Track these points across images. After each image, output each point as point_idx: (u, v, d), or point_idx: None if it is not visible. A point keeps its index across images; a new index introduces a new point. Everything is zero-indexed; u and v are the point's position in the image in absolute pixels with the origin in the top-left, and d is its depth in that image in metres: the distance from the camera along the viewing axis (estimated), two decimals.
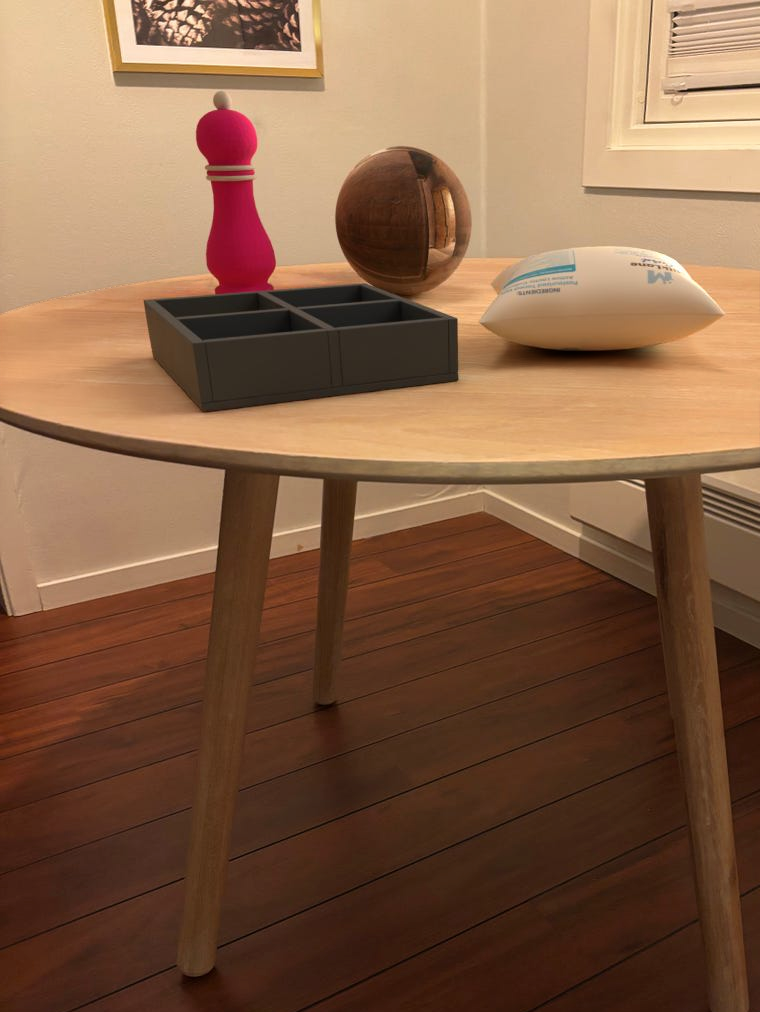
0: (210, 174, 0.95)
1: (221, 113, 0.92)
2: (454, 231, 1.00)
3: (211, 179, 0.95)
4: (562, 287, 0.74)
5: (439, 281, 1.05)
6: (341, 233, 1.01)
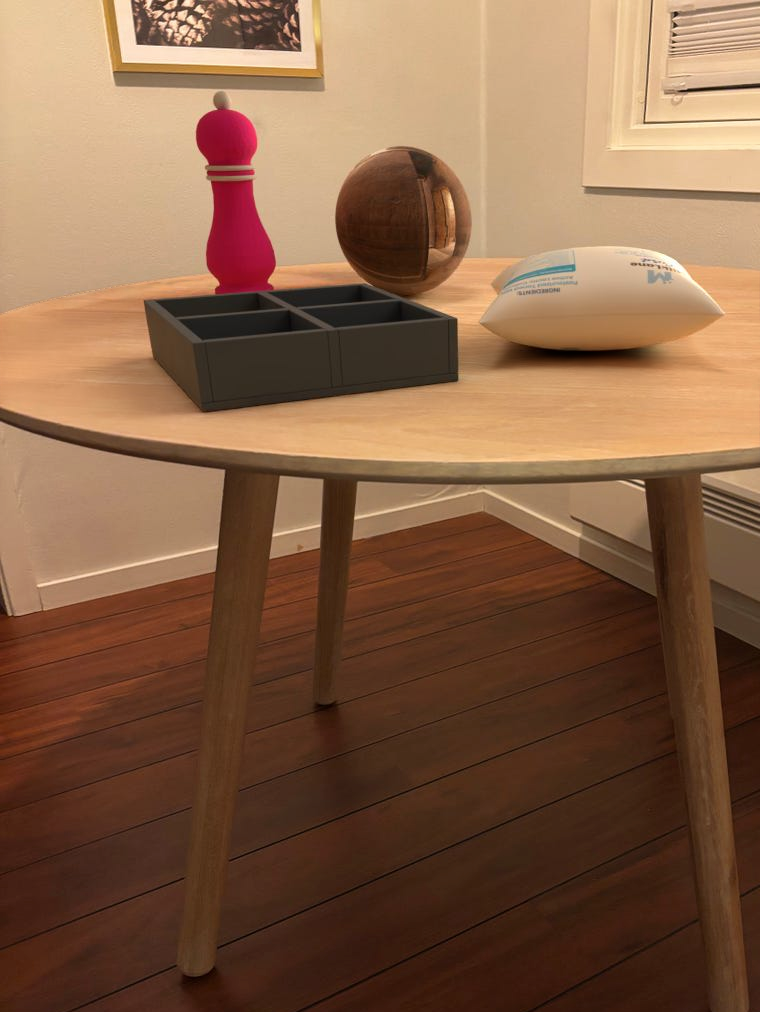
0: (210, 174, 0.95)
1: (221, 113, 0.92)
2: (454, 231, 1.00)
3: (211, 179, 0.95)
4: (562, 287, 0.74)
5: (439, 281, 1.05)
6: (341, 233, 1.01)
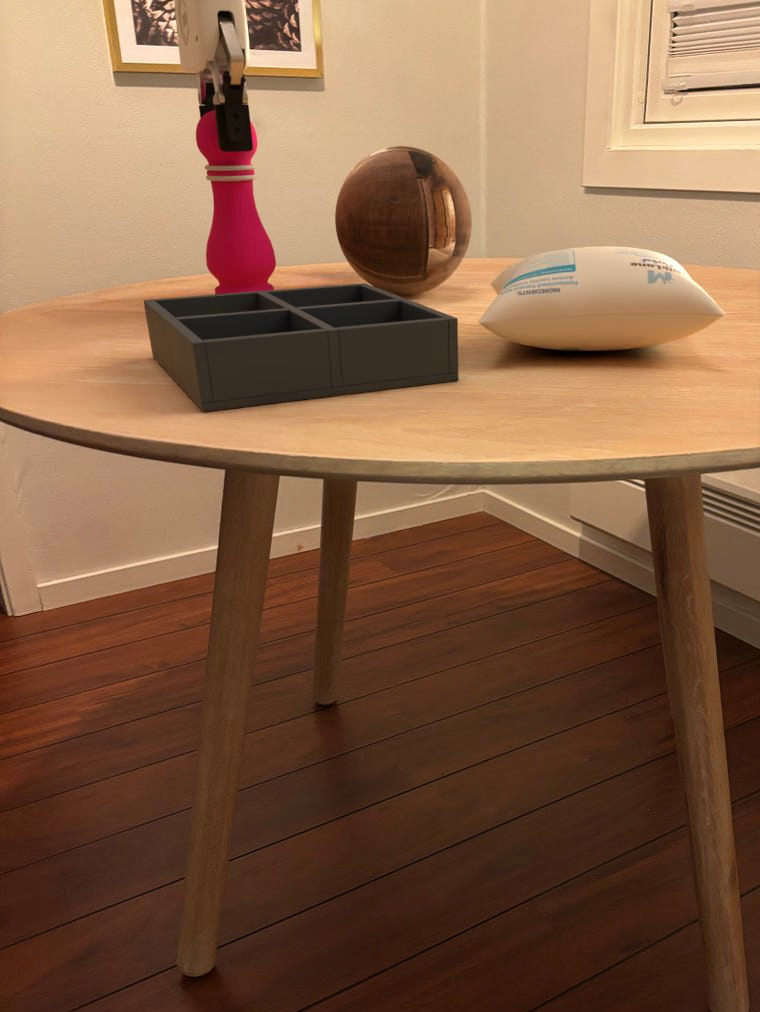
0: (210, 174, 0.95)
1: None
2: (454, 231, 1.00)
3: (211, 179, 0.95)
4: (562, 287, 0.74)
5: (439, 281, 1.05)
6: (341, 233, 1.01)
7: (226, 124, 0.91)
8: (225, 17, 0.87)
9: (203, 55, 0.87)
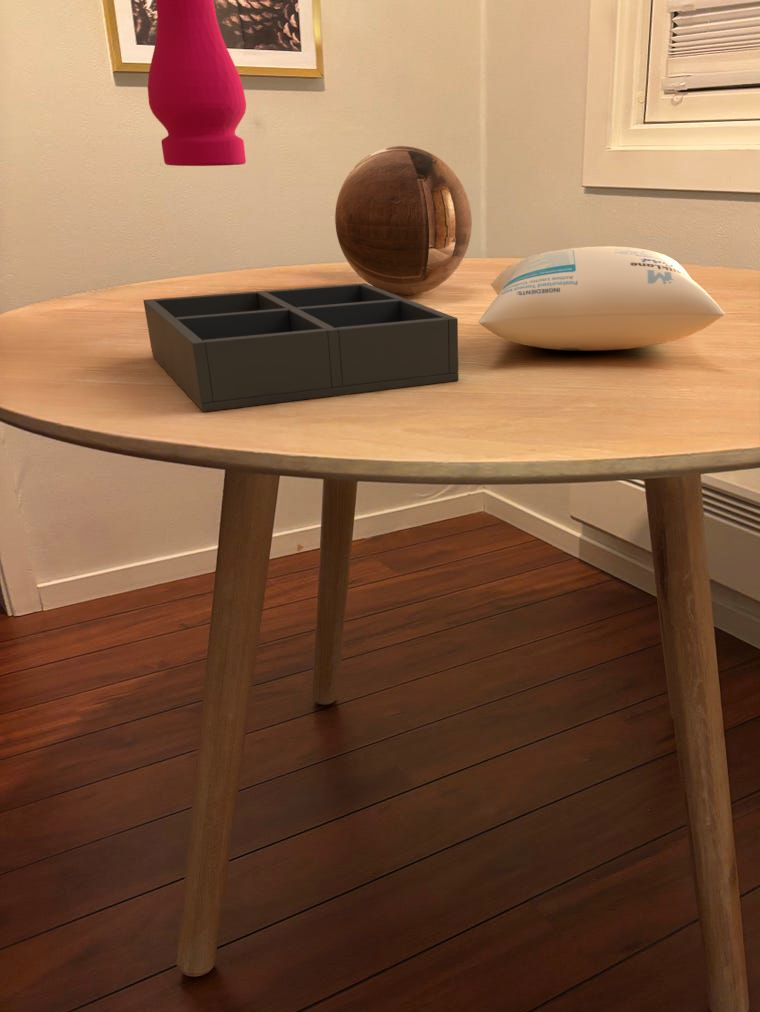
0: None
1: None
2: (454, 231, 1.00)
3: None
4: (562, 287, 0.74)
5: (439, 281, 1.05)
6: (341, 233, 1.01)
7: None
8: None
9: None
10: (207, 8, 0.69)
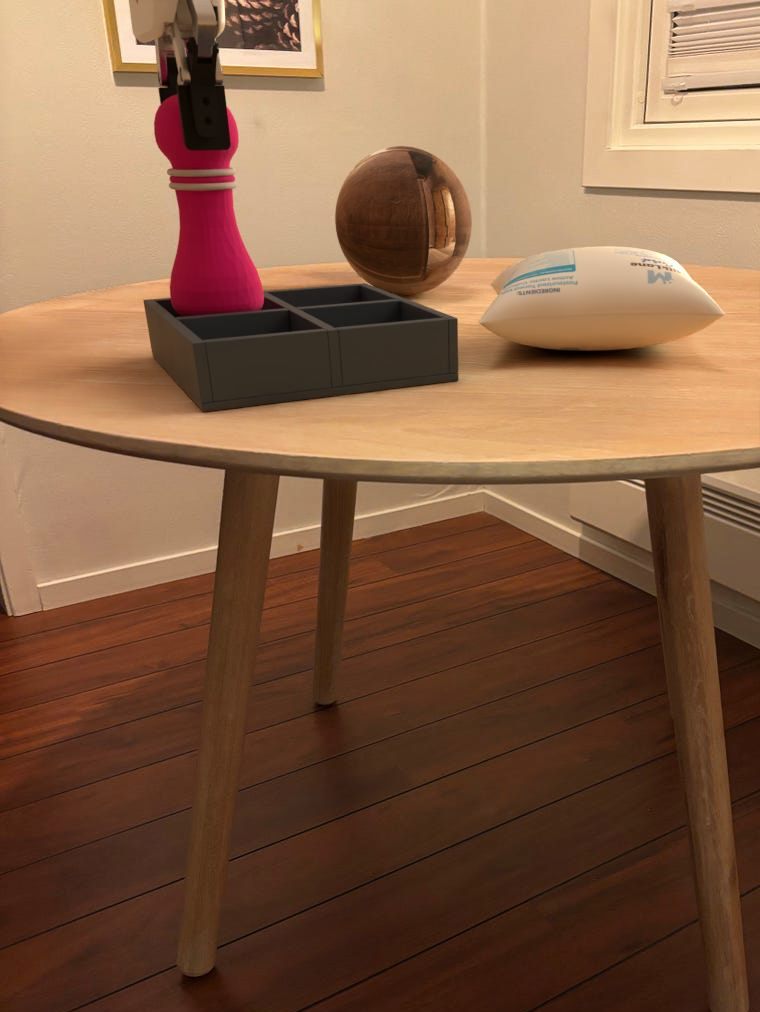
0: (174, 180, 0.70)
1: None
2: (454, 231, 1.00)
3: (175, 188, 0.70)
4: (562, 287, 0.74)
5: (439, 281, 1.05)
6: (341, 233, 1.01)
7: (193, 113, 0.66)
8: None
9: (159, 14, 0.62)
10: (227, 217, 0.72)
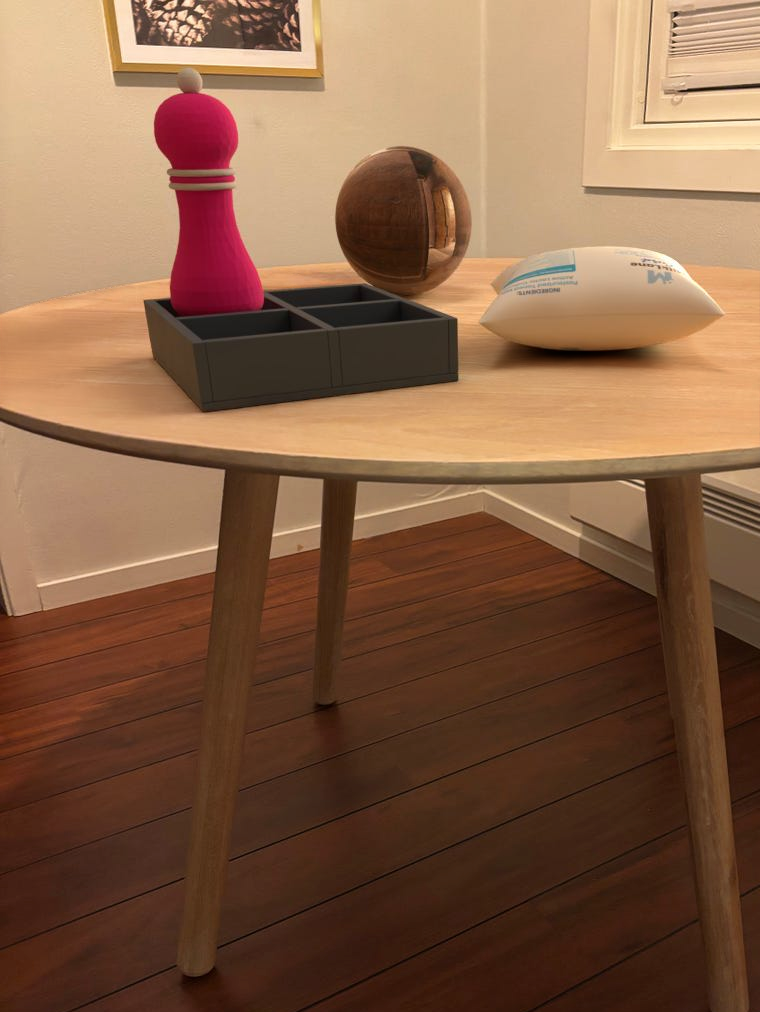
0: (174, 180, 0.70)
1: (188, 98, 0.67)
2: (454, 231, 1.00)
3: (175, 188, 0.70)
4: (562, 287, 0.74)
5: (439, 281, 1.05)
6: (341, 233, 1.01)
7: None
8: None
9: None
10: (227, 217, 0.72)
